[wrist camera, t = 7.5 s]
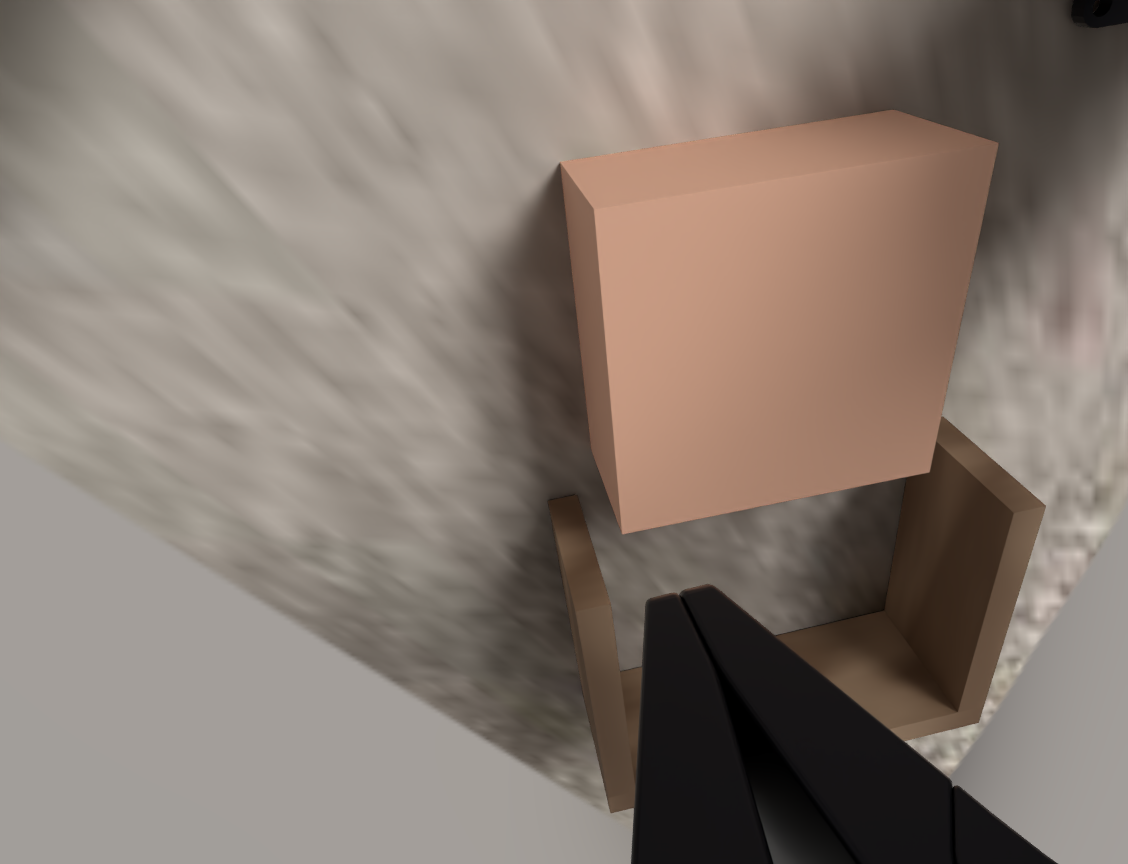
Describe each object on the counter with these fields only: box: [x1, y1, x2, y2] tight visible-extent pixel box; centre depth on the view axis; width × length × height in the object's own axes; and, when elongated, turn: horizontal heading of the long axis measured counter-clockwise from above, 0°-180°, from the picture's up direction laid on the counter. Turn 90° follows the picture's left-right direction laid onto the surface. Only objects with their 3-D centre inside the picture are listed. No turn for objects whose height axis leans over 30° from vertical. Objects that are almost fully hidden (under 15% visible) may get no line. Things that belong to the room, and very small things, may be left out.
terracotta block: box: [560, 109, 999, 534], centre depth 20 cm, size 9×9×4 cm
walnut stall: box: [548, 417, 1046, 813], centre depth 26 cm, size 14×10×5 cm
